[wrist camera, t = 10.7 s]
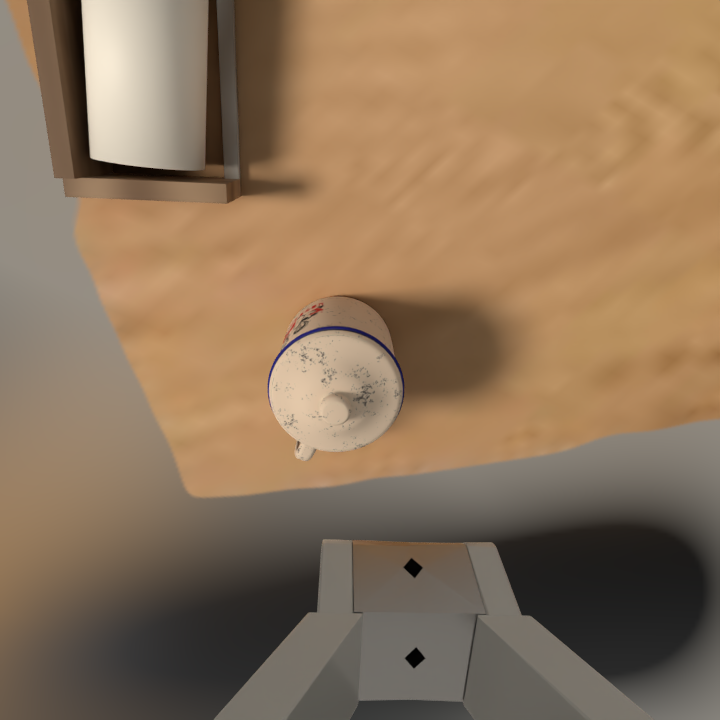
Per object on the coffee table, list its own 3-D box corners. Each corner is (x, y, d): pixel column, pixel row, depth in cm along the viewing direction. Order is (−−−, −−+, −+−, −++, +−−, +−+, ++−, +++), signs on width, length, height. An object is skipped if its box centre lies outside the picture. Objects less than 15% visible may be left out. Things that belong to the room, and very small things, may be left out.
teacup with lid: (305, 274, 42) (290, 321, 31) (412, 317, 44) (434, 376, 33) (255, 404, 46) (227, 485, 36) (355, 439, 48) (357, 527, 37)
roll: (210, -65, 29) (208, -33, 36) (64, -99, 27) (89, -59, 34) (205, 176, 34) (204, 167, 40) (79, 162, 32) (99, 155, 38)
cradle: (231, -81, 34) (208, -124, 28) (240, 195, 40) (223, 205, 34) (62, -91, 34) (5, -137, 28) (98, 189, 40) (57, 198, 34)
